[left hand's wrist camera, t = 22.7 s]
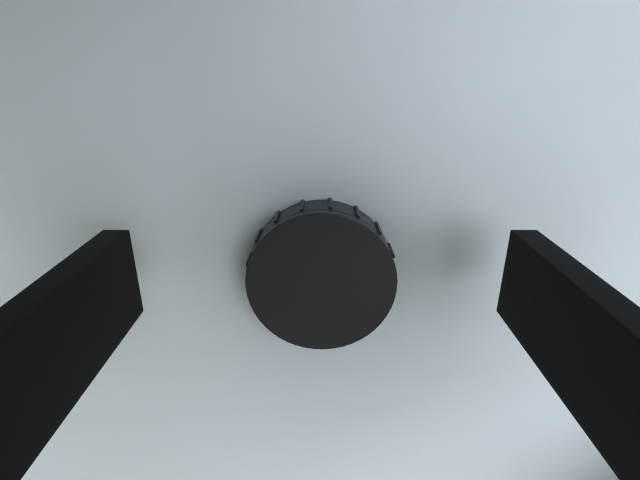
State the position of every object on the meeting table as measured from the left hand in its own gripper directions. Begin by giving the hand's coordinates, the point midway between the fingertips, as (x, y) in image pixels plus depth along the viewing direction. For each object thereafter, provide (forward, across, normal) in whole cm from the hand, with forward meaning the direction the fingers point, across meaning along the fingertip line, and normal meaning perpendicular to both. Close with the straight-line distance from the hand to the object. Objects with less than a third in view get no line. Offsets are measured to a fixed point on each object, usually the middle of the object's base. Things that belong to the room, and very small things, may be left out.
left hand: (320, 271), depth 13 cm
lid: (+1, 0, +1) cm, 1 cm away
